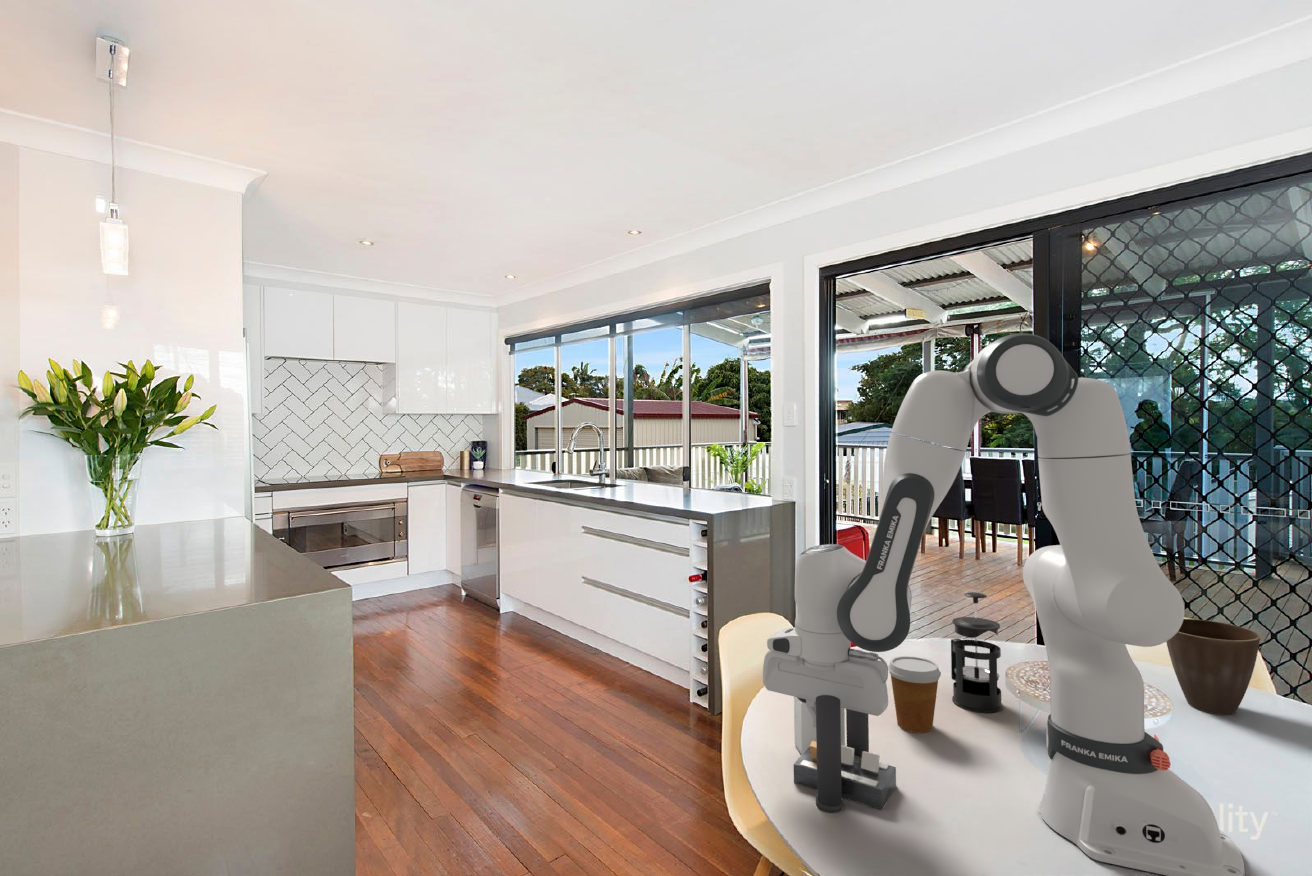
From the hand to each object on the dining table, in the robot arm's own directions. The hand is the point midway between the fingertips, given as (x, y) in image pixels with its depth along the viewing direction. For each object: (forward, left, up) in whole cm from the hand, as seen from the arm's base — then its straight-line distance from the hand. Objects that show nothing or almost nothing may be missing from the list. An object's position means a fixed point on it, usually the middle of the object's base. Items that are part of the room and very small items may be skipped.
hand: (823, 728), depth 104 cm
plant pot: (-56, -69, -9) cm, 89 cm away
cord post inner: (-3, -7, -8) cm, 11 cm away
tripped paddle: (+1, 0, -5) cm, 5 cm away
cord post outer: (-3, +7, -8) cm, 11 cm away
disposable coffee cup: (-8, -28, -9) cm, 30 cm away
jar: (+4, -9, -9) cm, 13 cm away
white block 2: (-7, 0, -5) cm, 9 cm away
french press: (-16, -46, -9) cm, 49 cm away
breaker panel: (-3, 0, -8) cm, 9 cm away
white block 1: (-3, 0, -5) cm, 6 cm away
